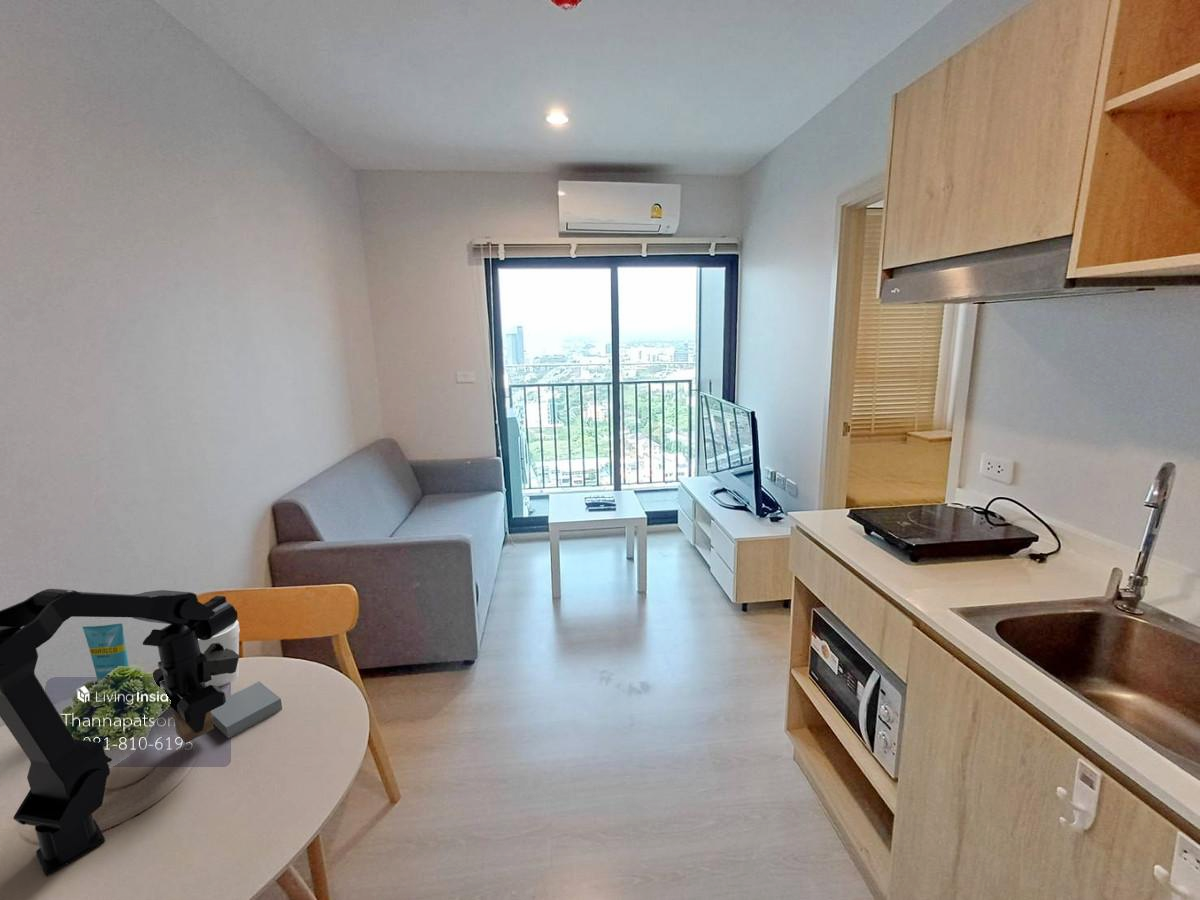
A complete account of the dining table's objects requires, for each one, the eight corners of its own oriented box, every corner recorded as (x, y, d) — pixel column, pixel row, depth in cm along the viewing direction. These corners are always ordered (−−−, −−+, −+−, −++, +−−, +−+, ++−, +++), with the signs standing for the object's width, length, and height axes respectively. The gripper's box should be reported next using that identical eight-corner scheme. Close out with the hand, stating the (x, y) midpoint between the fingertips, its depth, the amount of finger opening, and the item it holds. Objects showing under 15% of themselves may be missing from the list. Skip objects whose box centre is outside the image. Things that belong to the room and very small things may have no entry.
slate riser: (282, 708, 108) (280, 698, 107) (228, 738, 100) (226, 727, 99) (260, 691, 113) (259, 681, 113) (207, 718, 105) (205, 707, 105)
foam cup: (249, 678, 118) (241, 628, 115) (200, 697, 111) (190, 645, 108) (241, 660, 124) (233, 612, 121) (194, 678, 118) (184, 627, 115)
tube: (92, 715, 106) (72, 632, 102) (108, 699, 111) (89, 620, 107) (133, 709, 108) (115, 628, 104) (147, 694, 112) (131, 616, 108)
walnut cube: (213, 728, 98) (210, 708, 98) (185, 743, 95) (181, 722, 94) (204, 719, 101) (200, 699, 100) (176, 733, 97) (172, 713, 96)
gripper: (251, 649, 96) (262, 720, 99) (211, 620, 106) (222, 685, 109) (178, 681, 87) (193, 758, 90) (142, 646, 97) (157, 716, 100)
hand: (194, 726), depth 98 cm, fingers closed on walnut cube, 4 cm apart
